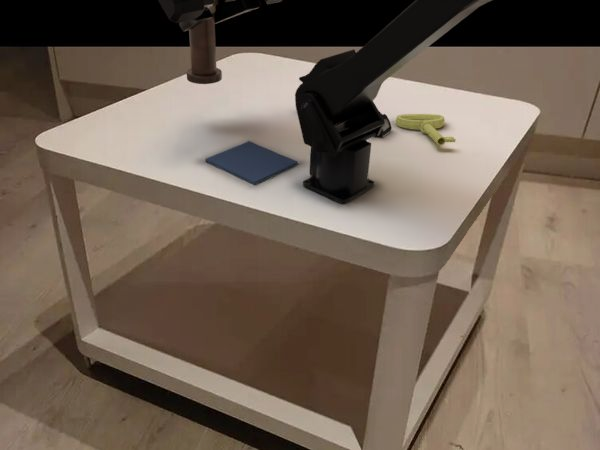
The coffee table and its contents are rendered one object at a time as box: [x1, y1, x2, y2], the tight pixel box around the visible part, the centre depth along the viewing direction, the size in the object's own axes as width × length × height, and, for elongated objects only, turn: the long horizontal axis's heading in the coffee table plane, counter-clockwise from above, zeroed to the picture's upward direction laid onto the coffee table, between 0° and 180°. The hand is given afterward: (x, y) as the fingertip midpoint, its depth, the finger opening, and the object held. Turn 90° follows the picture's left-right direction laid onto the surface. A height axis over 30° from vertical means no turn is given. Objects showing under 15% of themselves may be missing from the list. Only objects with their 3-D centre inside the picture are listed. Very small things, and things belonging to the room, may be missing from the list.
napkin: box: [204, 140, 299, 186], centre depth 80 cm, size 9×8×1 cm
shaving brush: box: [186, 0, 223, 85], centre depth 82 cm, size 5×5×14 cm
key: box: [395, 113, 457, 146], centre depth 90 cm, size 7×12×2 cm, turn 25°
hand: (195, 25), depth 83 cm, fingers closed on shaving brush, 4 cm apart
